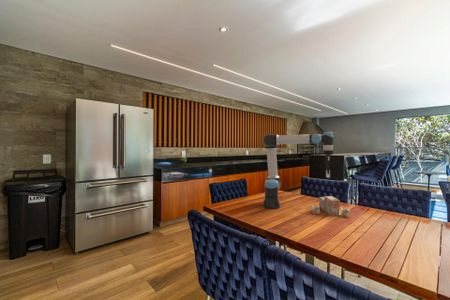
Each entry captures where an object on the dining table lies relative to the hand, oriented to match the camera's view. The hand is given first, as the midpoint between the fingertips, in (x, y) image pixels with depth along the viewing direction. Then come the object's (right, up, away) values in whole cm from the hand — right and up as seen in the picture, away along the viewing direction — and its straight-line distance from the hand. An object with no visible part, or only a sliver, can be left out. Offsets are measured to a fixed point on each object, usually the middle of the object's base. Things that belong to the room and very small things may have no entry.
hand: (327, 177), depth 185 cm
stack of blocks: (-4, -27, -9) cm, 29 cm away
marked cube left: (-16, -27, -12) cm, 34 cm away
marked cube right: (+4, -27, -20) cm, 34 cm away
